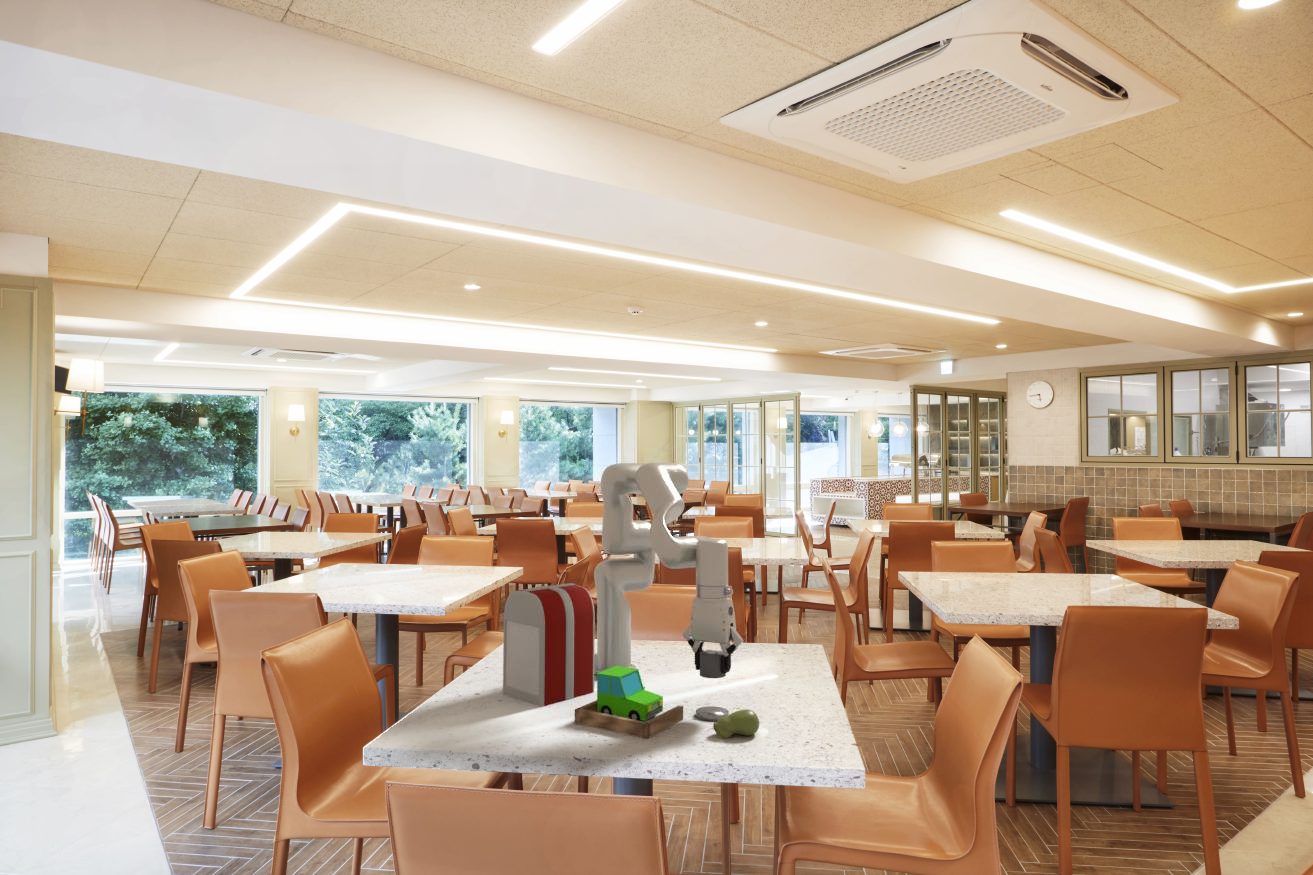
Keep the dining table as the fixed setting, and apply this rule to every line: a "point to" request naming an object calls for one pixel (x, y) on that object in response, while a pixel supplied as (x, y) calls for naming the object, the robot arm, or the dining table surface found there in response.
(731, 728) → the pear
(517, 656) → the red striped mailbox
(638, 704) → the toy car
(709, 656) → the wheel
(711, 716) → the shallow metal dish
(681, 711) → the bay
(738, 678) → the dining table surface
